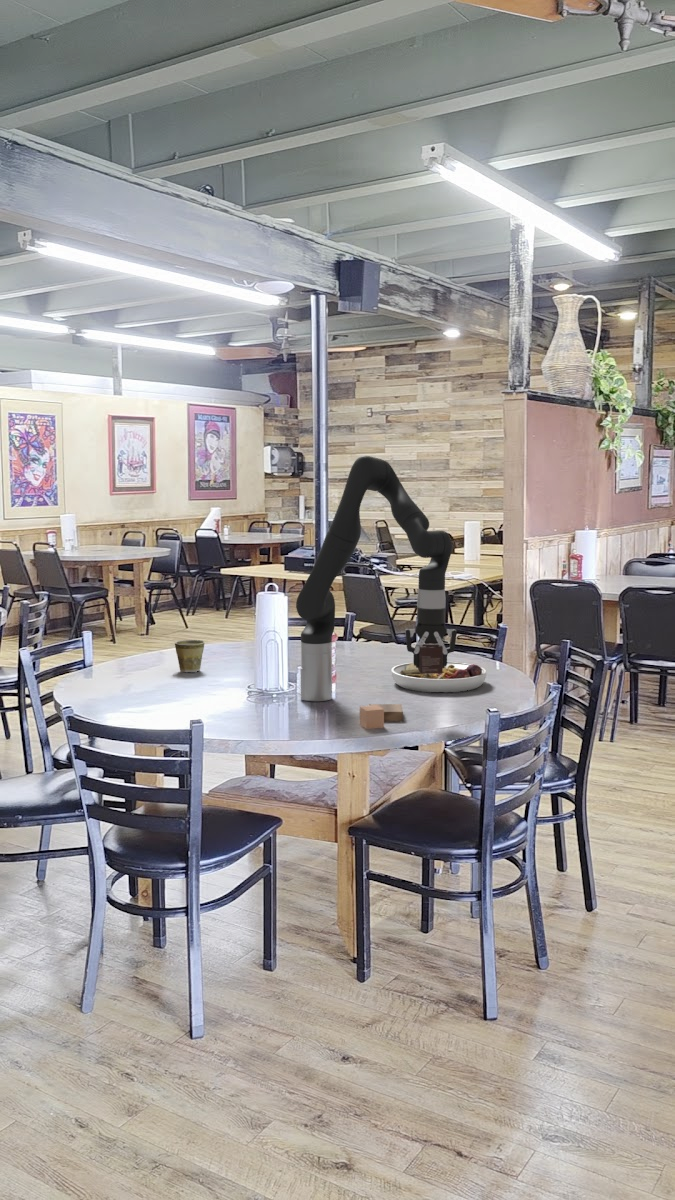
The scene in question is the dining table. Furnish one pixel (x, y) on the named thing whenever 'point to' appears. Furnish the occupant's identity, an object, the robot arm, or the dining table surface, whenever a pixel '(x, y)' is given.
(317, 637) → the robot arm
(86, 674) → the dining table surface
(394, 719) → the plinth
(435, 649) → the box
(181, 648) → the ceramic cup
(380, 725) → the terracotta block
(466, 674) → the bowl
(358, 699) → the dining table surface
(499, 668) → the dining table surface
